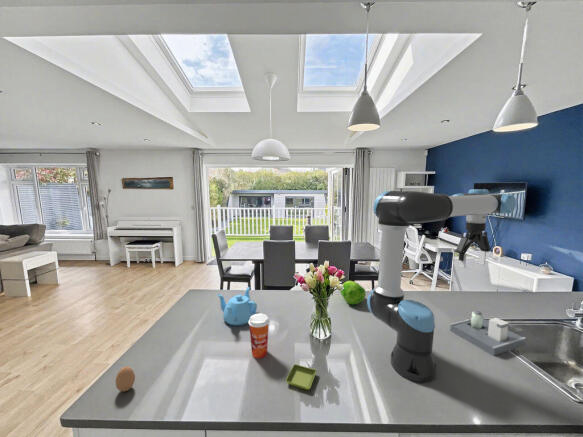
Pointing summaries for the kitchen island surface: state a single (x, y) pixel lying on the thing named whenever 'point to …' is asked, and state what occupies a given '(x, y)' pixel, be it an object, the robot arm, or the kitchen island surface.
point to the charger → (498, 329)
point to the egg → (125, 379)
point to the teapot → (238, 309)
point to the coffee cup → (259, 334)
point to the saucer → (301, 376)
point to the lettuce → (353, 292)
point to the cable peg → (476, 320)
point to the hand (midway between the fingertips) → (471, 265)
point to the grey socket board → (486, 337)
